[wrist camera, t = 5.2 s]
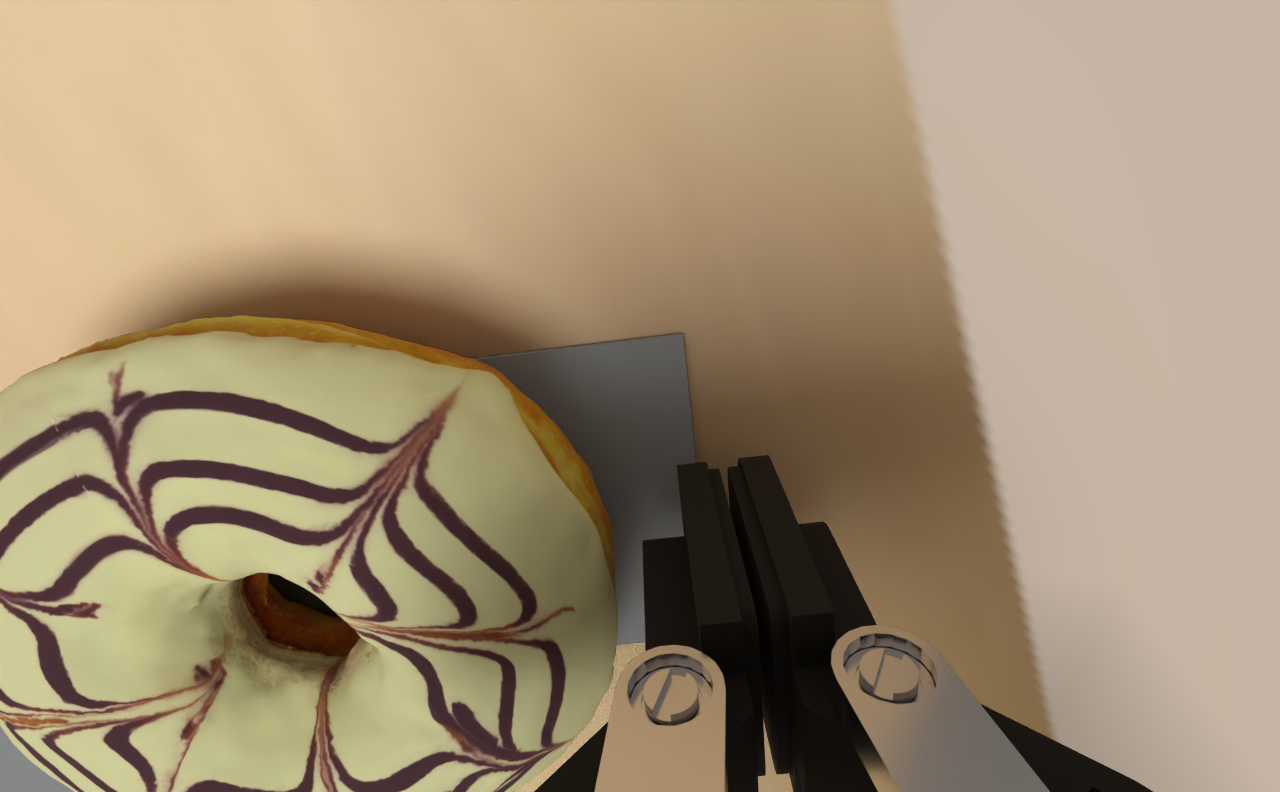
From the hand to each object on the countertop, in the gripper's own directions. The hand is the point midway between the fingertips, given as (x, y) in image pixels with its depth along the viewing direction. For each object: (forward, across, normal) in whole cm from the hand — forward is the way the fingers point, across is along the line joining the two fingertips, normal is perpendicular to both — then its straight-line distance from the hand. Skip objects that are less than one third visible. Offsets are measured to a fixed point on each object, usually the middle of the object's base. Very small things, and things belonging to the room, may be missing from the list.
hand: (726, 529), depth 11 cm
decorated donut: (+1, +7, 0) cm, 7 cm away
